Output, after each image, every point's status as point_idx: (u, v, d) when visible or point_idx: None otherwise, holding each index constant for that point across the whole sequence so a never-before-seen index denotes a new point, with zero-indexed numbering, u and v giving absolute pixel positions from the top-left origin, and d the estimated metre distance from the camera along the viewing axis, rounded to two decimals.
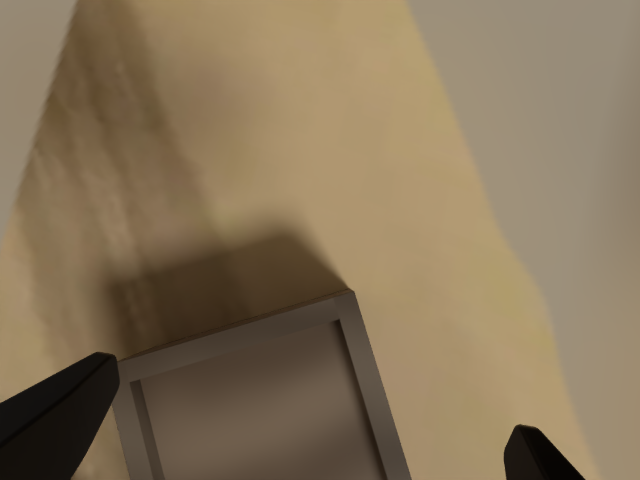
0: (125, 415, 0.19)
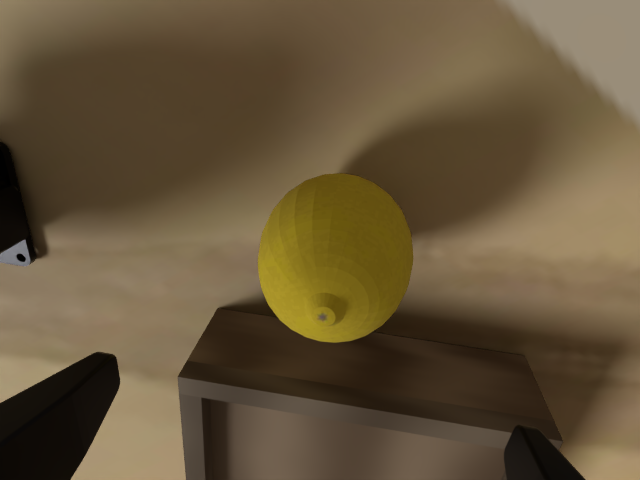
0: (499, 438, 0.17)
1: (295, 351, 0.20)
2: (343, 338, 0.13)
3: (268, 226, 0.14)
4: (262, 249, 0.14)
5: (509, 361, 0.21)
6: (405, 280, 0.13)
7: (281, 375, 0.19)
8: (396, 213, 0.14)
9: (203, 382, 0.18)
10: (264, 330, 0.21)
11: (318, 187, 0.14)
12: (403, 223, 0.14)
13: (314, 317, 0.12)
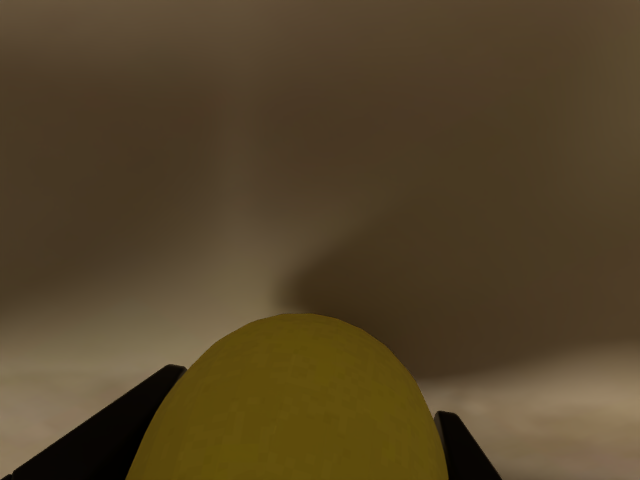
0: None
1: None
2: None
3: None
4: None
5: None
6: None
7: None
8: (419, 451, 0.06)
9: None
10: None
11: (240, 397, 0.06)
12: (434, 470, 0.06)
13: None
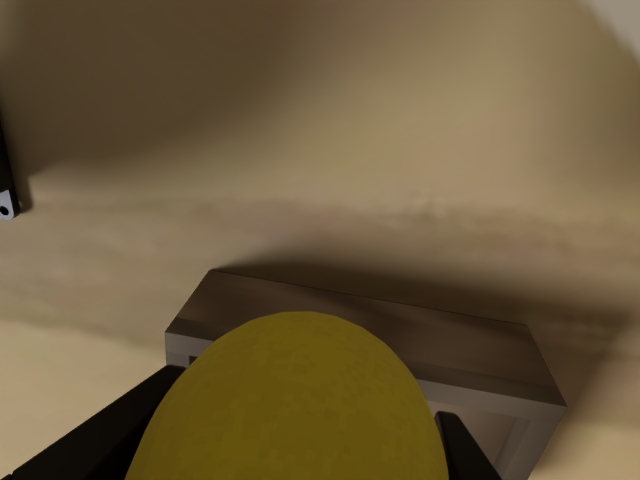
0: (500, 403, 0.16)
1: None
2: None
3: (128, 477, 0.06)
4: None
5: (511, 330, 0.20)
6: None
7: None
8: (419, 448, 0.06)
9: (191, 338, 0.17)
10: (257, 292, 0.20)
11: (241, 393, 0.06)
12: (434, 467, 0.06)
13: None
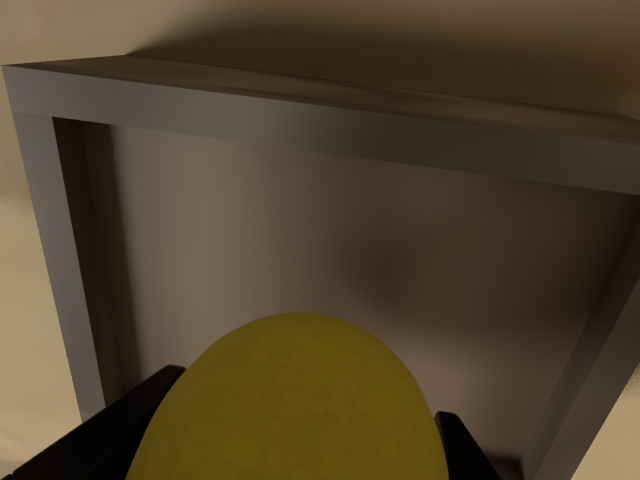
0: (622, 166, 0.09)
1: (237, 78, 0.11)
2: None
3: (128, 477, 0.06)
4: None
5: (605, 116, 0.12)
6: None
7: (203, 83, 0.10)
8: (419, 448, 0.06)
9: (50, 77, 0.09)
10: (191, 67, 0.13)
11: (241, 394, 0.06)
12: (434, 468, 0.06)
13: None
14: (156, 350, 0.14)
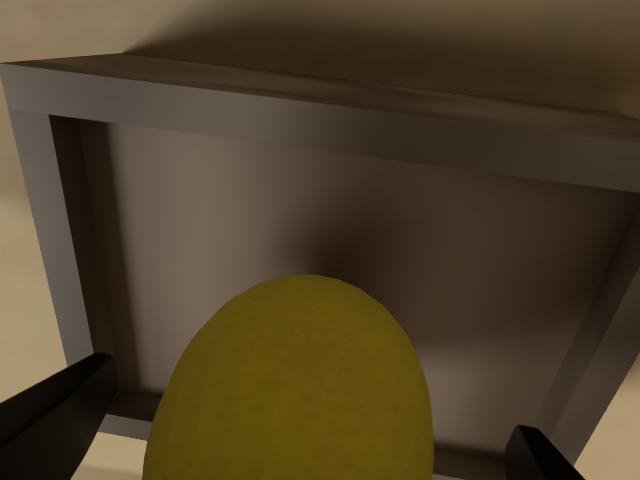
0: (618, 163, 0.09)
1: (234, 76, 0.11)
2: None
3: (164, 398, 0.07)
4: (147, 450, 0.07)
5: (601, 113, 0.12)
6: None
7: (200, 81, 0.10)
8: (405, 376, 0.07)
9: (47, 75, 0.09)
10: (188, 65, 0.13)
11: (258, 328, 0.07)
12: (418, 393, 0.08)
13: None
14: (154, 348, 0.14)
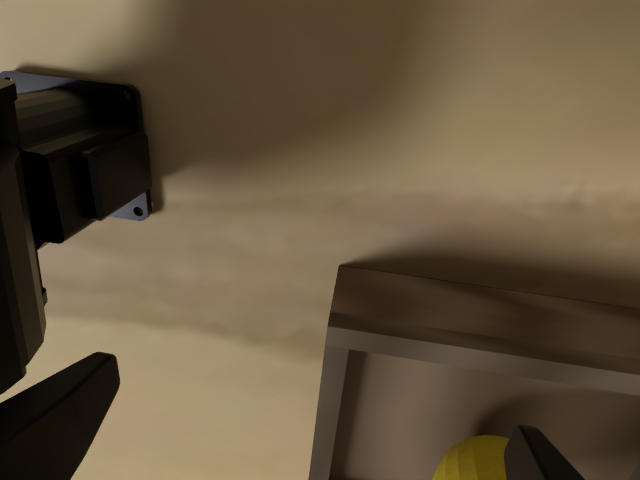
0: None
1: (434, 304, 0.19)
2: None
3: None
4: None
5: None
6: None
7: (431, 326, 0.18)
8: None
9: (354, 332, 0.17)
10: (394, 286, 0.20)
11: None
12: None
13: None
14: (360, 455, 0.22)
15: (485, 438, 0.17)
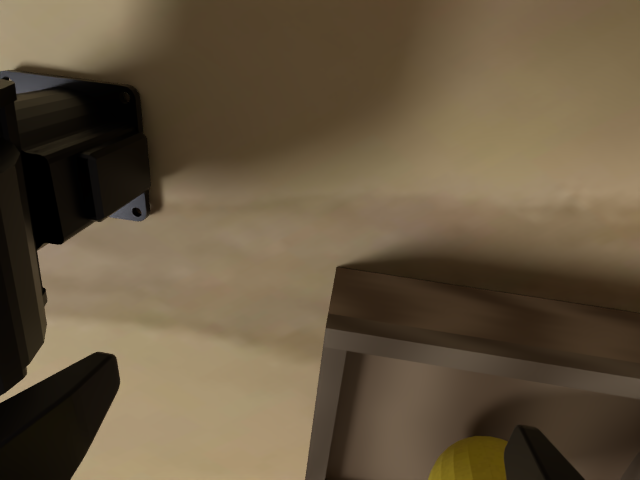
0: None
1: (431, 307, 0.19)
2: None
3: None
4: None
5: None
6: None
7: (428, 329, 0.18)
8: None
9: (352, 334, 0.17)
10: (392, 287, 0.20)
11: None
12: None
13: None
14: (356, 455, 0.22)
15: (480, 439, 0.18)
